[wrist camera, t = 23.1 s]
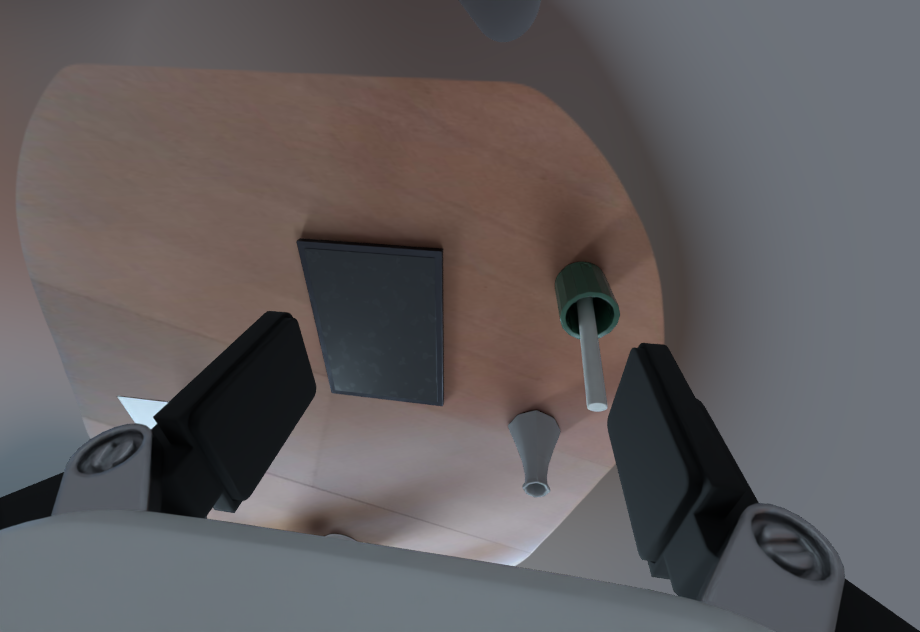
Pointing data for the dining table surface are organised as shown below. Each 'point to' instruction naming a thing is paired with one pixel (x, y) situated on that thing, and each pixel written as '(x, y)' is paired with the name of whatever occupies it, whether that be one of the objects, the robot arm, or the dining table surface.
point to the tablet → (378, 318)
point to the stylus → (591, 356)
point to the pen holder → (580, 284)
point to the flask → (535, 448)
